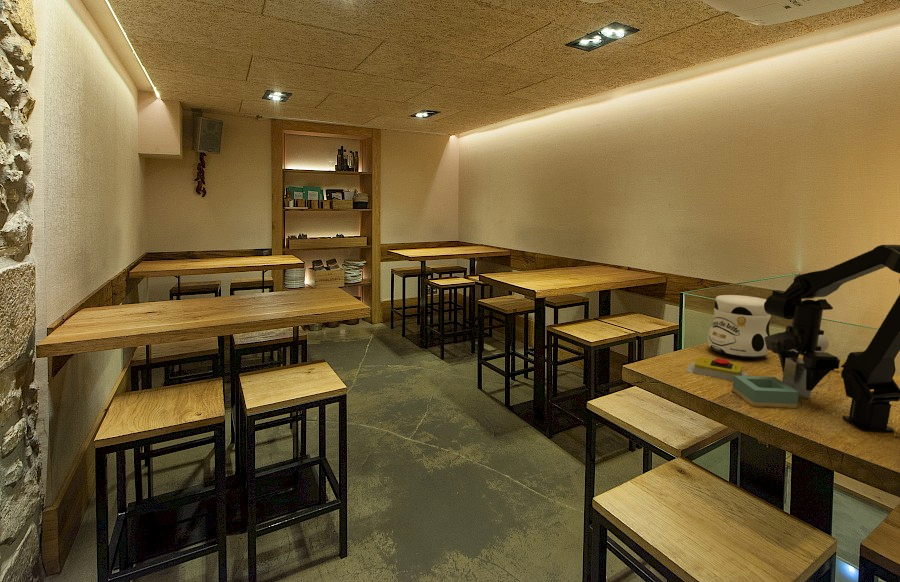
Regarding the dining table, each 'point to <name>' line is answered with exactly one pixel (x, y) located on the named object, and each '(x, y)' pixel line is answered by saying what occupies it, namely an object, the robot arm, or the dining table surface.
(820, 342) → the lightbulb
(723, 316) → the milk container
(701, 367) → the emergency button
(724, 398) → the dining table surface
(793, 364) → the grey rectangular block
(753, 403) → the socket block
